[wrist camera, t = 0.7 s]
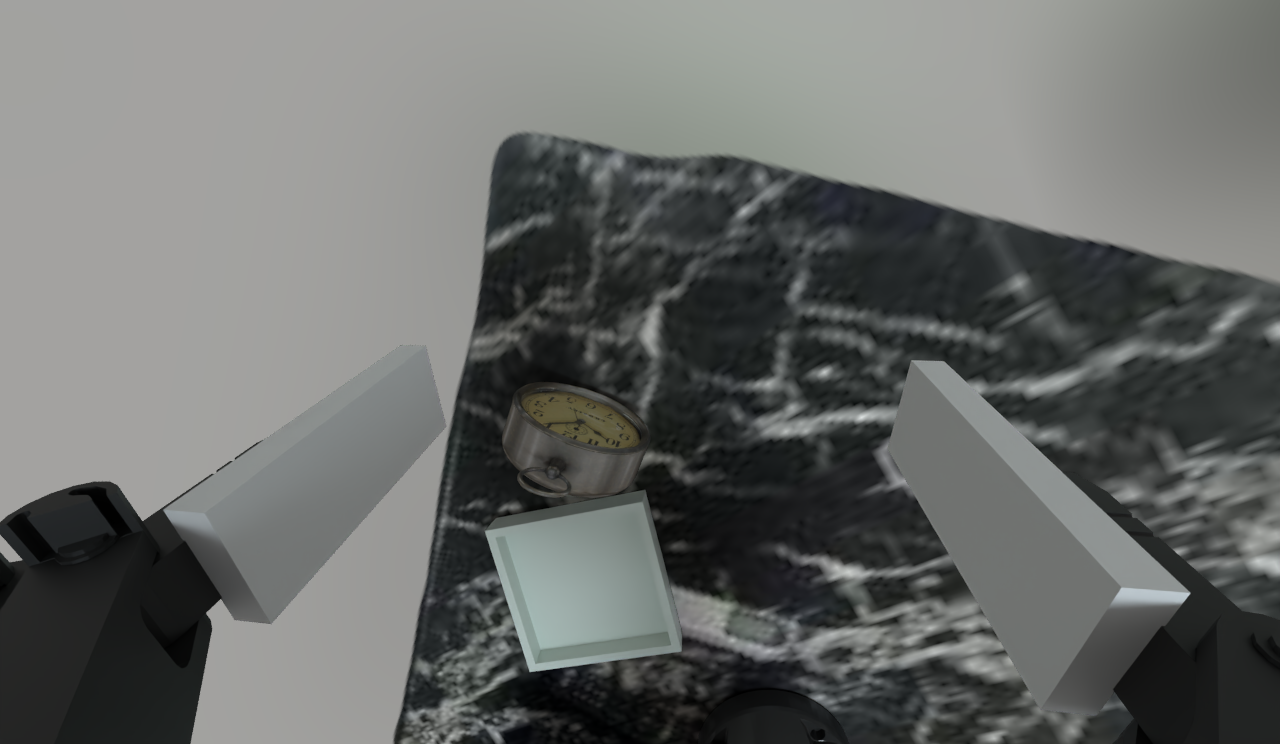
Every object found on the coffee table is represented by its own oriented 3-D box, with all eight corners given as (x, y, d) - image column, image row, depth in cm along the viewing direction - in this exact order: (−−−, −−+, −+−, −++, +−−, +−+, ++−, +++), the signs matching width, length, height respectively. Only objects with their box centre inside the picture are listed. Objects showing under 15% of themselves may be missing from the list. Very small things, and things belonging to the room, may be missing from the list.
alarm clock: (658, 412, 42) (639, 488, 26) (637, 464, 43) (606, 568, 27) (546, 367, 42) (460, 416, 26) (528, 420, 43) (435, 497, 27)
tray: (682, 631, 45) (681, 651, 43) (538, 652, 48) (529, 671, 45) (645, 489, 43) (642, 501, 41) (495, 517, 45) (484, 531, 43)
